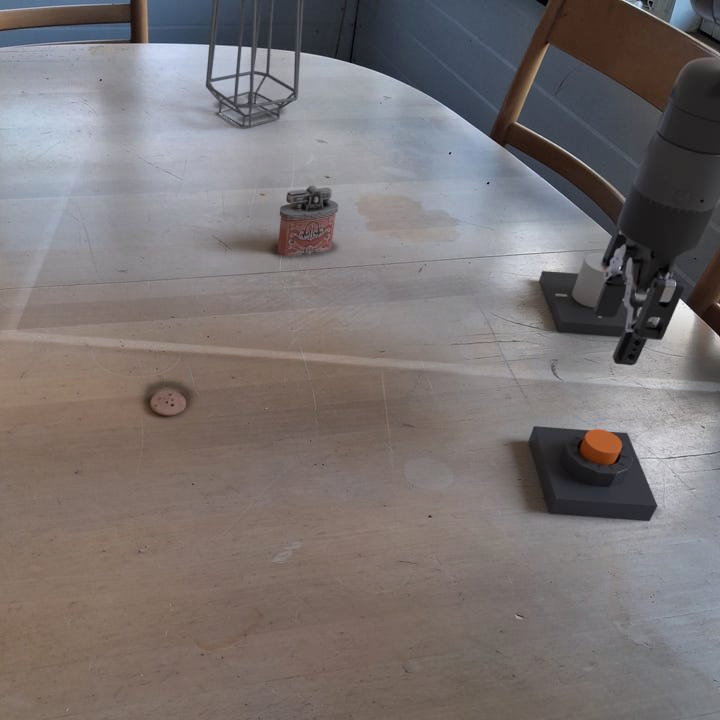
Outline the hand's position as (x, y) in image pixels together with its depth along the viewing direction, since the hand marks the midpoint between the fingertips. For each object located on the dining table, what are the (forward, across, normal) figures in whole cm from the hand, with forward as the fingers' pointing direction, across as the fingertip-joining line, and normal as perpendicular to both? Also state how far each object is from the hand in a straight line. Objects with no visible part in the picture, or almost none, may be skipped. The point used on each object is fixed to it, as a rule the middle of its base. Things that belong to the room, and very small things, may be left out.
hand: (613, 337), depth 92 cm
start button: (+8, -9, +1) cm, 12 cm away
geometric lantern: (+12, +78, +41) cm, 89 cm away
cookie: (+12, -3, +45) cm, 47 cm away
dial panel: (+12, +22, -5) cm, 26 cm away
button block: (+12, -9, +1) cm, 15 cm away
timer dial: (+8, +22, -5) cm, 24 cm away
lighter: (+12, +31, +31) cm, 46 cm away
